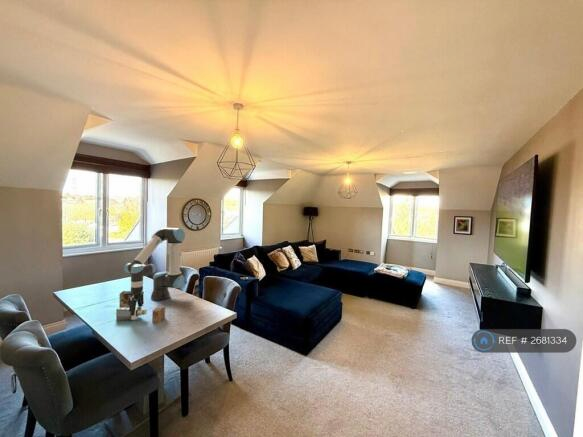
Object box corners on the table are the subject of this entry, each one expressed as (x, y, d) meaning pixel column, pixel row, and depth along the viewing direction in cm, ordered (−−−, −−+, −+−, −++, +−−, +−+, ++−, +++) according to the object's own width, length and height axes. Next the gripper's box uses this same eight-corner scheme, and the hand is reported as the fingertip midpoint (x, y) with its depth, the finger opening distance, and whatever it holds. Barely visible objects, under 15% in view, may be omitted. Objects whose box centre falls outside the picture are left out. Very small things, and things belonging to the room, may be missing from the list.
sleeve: (121, 317, 180) (122, 305, 180) (135, 317, 181) (135, 306, 180) (116, 320, 174) (116, 309, 174) (130, 321, 175) (130, 309, 174)
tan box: (158, 317, 182) (158, 305, 182) (164, 317, 182) (165, 306, 182) (152, 322, 174) (152, 310, 174) (159, 322, 174) (159, 310, 174)
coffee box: (135, 310, 192) (136, 290, 192) (132, 314, 186) (132, 293, 185) (122, 310, 191) (123, 290, 190) (118, 314, 184) (119, 293, 184)
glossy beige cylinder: (124, 313, 180) (124, 307, 179) (147, 314, 180) (147, 307, 180) (119, 316, 175) (119, 309, 175) (143, 317, 175) (143, 310, 175)
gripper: (139, 282, 186) (139, 311, 187) (122, 290, 167) (122, 323, 168) (149, 282, 186) (148, 311, 187) (133, 290, 167) (133, 323, 168)
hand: (136, 317), depth 178 cm, fingers open, 6 cm apart
